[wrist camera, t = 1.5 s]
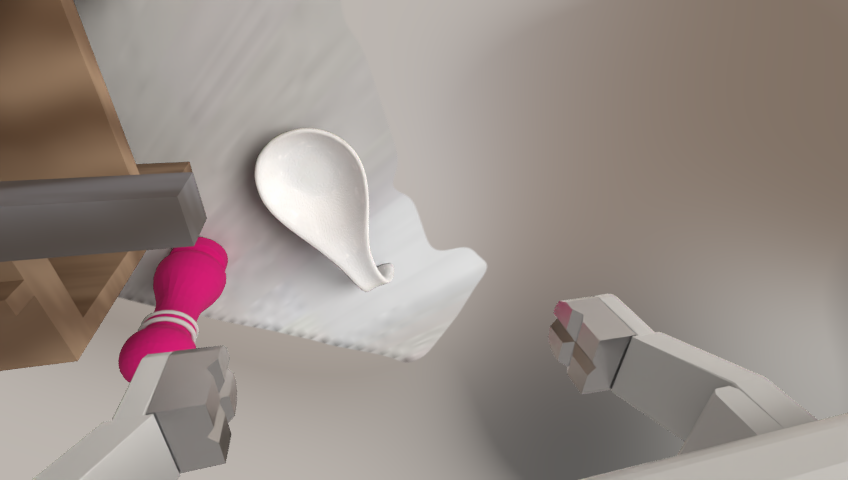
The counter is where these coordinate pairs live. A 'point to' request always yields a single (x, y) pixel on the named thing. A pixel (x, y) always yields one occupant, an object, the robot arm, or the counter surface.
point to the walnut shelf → (57, 177)
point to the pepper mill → (177, 302)
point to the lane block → (98, 215)
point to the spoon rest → (322, 199)
